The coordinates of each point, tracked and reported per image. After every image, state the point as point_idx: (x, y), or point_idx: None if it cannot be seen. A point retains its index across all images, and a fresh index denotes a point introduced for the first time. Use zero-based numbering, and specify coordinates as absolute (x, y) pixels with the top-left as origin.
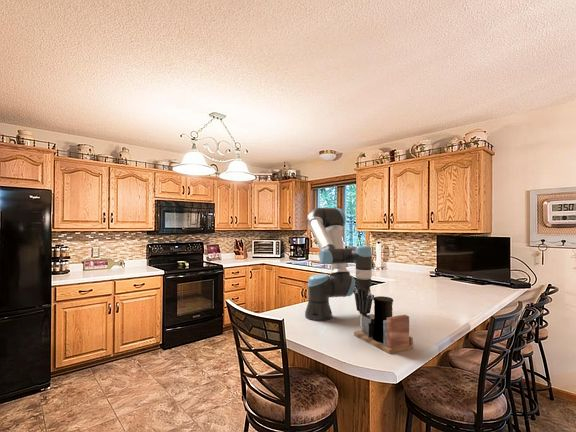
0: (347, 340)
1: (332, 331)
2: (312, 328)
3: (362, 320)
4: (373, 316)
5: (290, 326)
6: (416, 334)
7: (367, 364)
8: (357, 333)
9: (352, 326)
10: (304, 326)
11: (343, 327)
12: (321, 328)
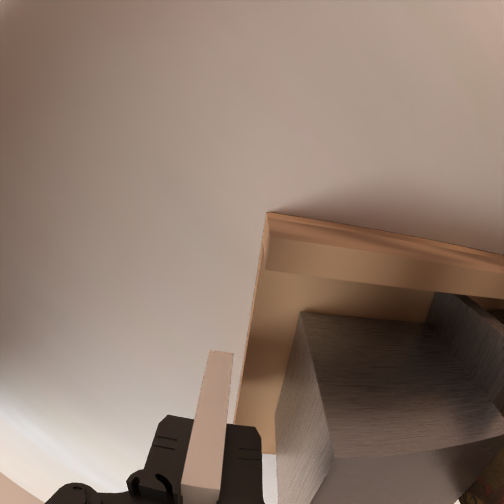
0: (276, 489)
1: (109, 458)
2: (47, 469)
3: (281, 502)
4: (415, 491)
5: (19, 484)
6: (500, 10)
7: (459, 501)
8: (271, 450)
9: (56, 297)
10: (20, 465)
11: (58, 368)
12: (52, 452)
